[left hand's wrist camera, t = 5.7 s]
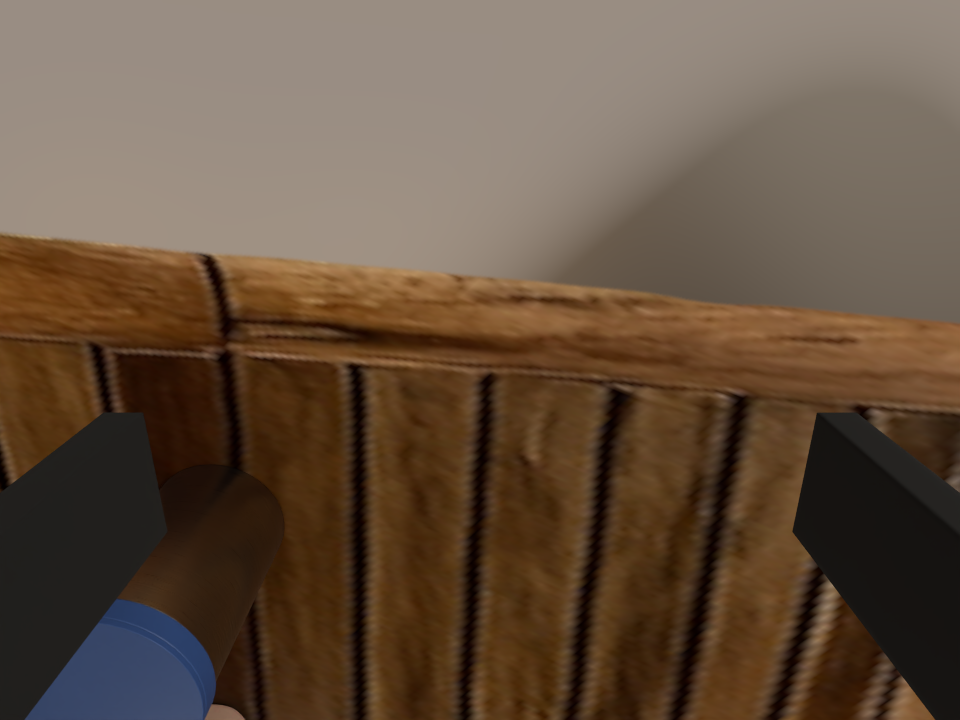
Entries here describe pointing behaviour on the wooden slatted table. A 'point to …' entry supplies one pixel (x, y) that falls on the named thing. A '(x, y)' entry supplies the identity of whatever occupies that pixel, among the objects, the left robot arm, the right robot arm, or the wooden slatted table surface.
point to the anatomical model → (223, 713)
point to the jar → (210, 554)
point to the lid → (133, 672)
